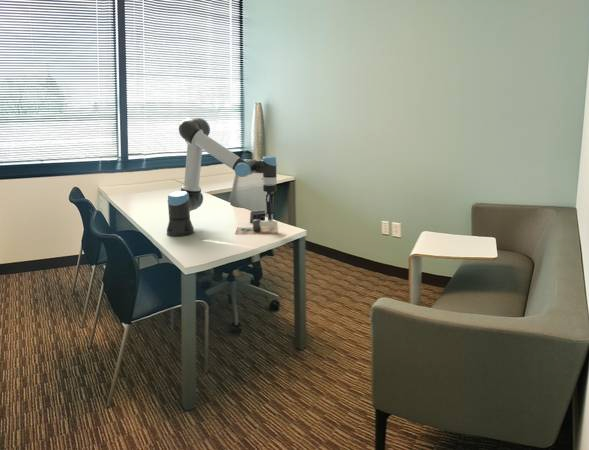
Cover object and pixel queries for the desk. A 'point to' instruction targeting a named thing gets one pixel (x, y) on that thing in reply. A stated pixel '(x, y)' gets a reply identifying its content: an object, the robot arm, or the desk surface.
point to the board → (250, 231)
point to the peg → (261, 224)
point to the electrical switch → (257, 215)
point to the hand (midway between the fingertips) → (270, 224)
